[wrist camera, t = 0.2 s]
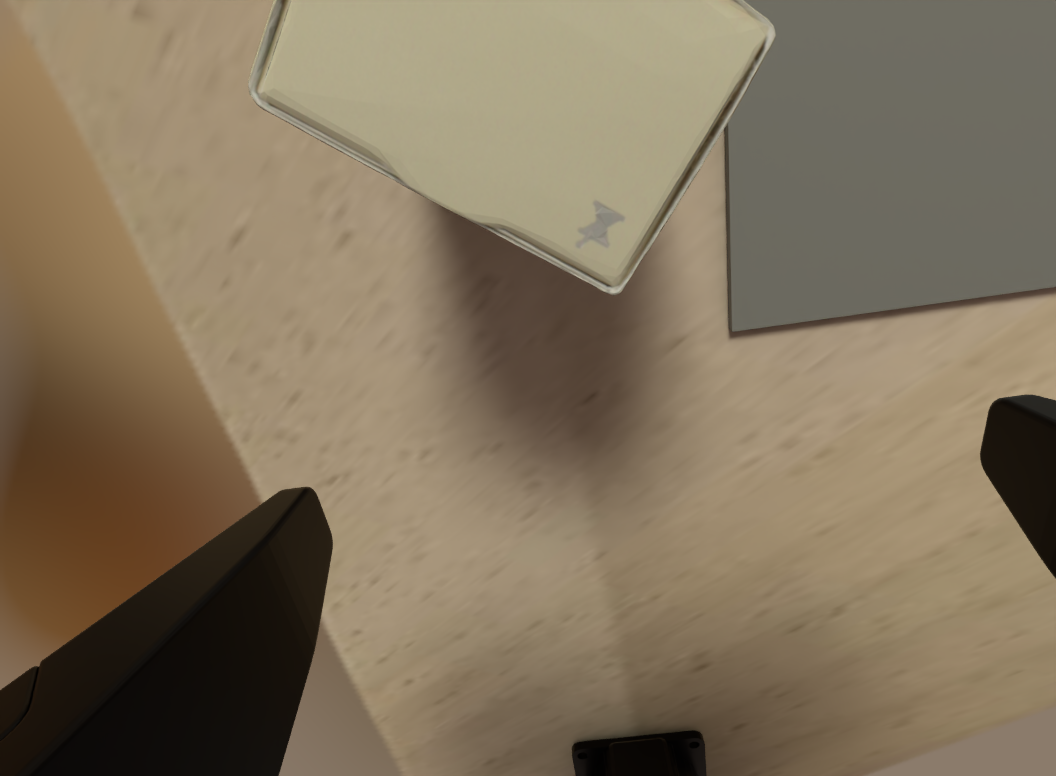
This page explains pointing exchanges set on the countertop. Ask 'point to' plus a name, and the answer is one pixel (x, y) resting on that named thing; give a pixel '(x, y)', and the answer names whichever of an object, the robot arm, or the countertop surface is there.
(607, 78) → the skincare box
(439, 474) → the countertop surface
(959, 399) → the countertop surface
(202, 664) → the robot arm
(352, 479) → the countertop surface
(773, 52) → the slate mat
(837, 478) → the countertop surface
